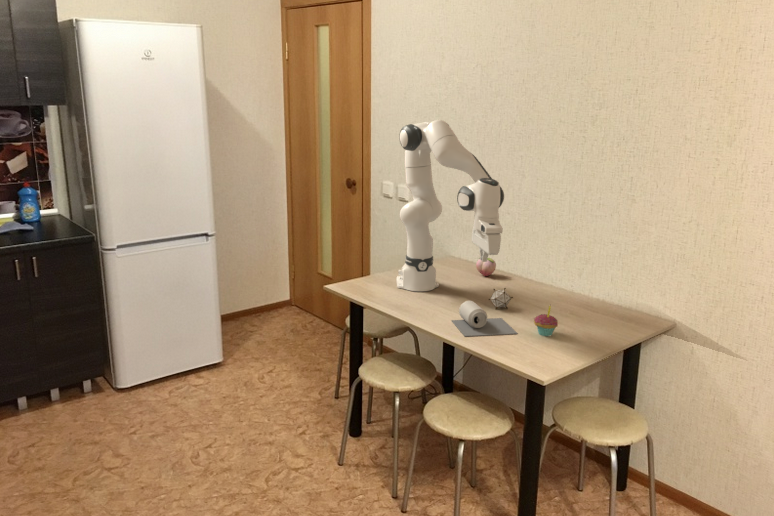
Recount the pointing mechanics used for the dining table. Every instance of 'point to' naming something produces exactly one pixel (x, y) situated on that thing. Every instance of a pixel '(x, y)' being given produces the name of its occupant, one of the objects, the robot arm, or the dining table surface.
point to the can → (473, 314)
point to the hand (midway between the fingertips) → (483, 260)
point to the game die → (500, 298)
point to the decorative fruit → (486, 266)
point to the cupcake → (546, 323)
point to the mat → (485, 328)
